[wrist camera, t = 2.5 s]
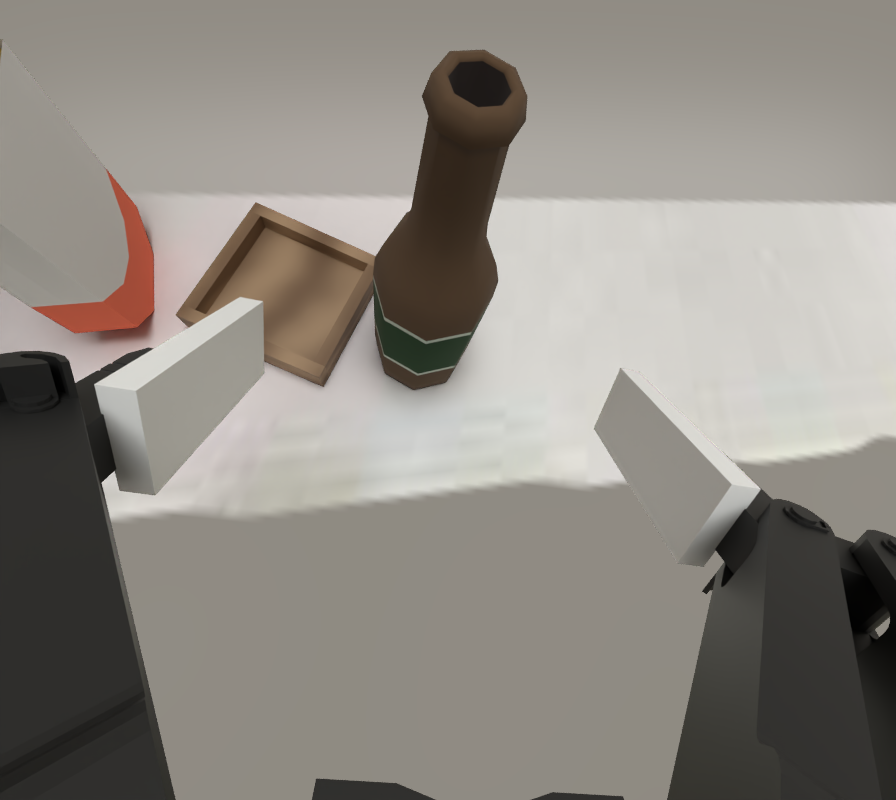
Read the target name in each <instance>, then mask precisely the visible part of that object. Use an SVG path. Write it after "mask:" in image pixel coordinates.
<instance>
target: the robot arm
mask: <svg viewBox="0 0 896 800" xmlns="http://www.w3.org/2000/svg"><path fill="white" fill-rule="evenodd" d="M263 374H264V322H263V301H259V300H253V299H248V298H243V297H239V298H237V299H236V300H234V301H232V302H231V303H229V304H227V305H226V306H224V307H222V308H221V309H219V310H217V311H216V312H214V313H212V314H211V315H209V316H207V317H206V318H204V319H202V320H201V321H199V322H197V323H196V324H194V325H192V326H191V327H189V328H187V329H186V330H184V331H182V332H181V333H179V334H177V335H176V336H174V337H172V338H171V339H169V340H167V341H166V342H164V343H162V344H161V345H159V346H157V347H156V348H154V349H153V348H146V349H142V350H139V351H135V352H131V353H128V354H126V355H124V356H123V357H121V358H119V359H117V360H115V361H114V362H113V364H108V365H107V366H105V367H103V368H101V370H100V371H96V372H94V373H92V374H91V375H89V376H87V377H85V378H84V379H82V380H80V381H78V382H77V383H75V381H74V378H73V374H72V370H71V366H70V363H69V361H68V359H67V358H66V357H65V356H62V355H59V354H56V353H51V352H43V351H20V352H12V353H5V354H0V800H176V799H175V795H174V791H173V787H172V783H171V778H170V774H169V770H168V766H167V762H166V757H165V753H164V748H163V744H162V740H161V736H160V732H159V727H158V723H157V718H156V714H155V710H154V705H153V701H152V697H151V693H150V688H149V684H148V680H147V675H146V671H145V667H144V662H143V658H142V654H141V650H140V646H139V641H138V637H137V632H136V628H135V624H134V620H133V615H132V611H131V607H130V602H129V598H128V594H127V590H126V586H125V581H124V577H123V572H122V568H121V564H120V559H119V555H118V551H117V547H116V542H115V538H114V534H113V529H112V525H111V521H110V516H109V512H108V508H107V504H106V499H105V495H104V491H103V487H102V484H101V482H103V481H104V480H105V479H106V478H107V477H108V476H109V475H110V474H111V473H113V472H114V471H115V474H116V478H117V482H118V486H119V490H120V491H126V492H133V493H141V494H149V495H156V494H157V493H158V492H159V491H160V489H161V488H162V487H163V486H164V485H165V484H166V483H167V482H168V481H169V479H170V478H171V477H172V476H173V475H174V474H175V473H176V472H177V470H178V469H179V468H180V467H181V466H182V465H183V464H184V463H185V461H186V460H187V459H188V458H189V457H190V456H191V455H192V454H193V453H194V451H195V450H196V449H197V448H198V447H199V446H200V445H201V444H202V442H203V441H204V440H205V439H206V438H207V437H208V436H209V435H210V433H211V432H212V431H213V430H214V429H215V428H216V427H217V426H218V425H219V423H220V422H221V421H222V420H223V419H224V418H225V417H226V416H227V414H228V413H229V412H230V411H231V410H232V409H233V408H234V407H235V405H236V404H237V403H238V402H239V401H240V400H241V399H242V398H243V397H244V395H245V394H246V393H247V392H248V391H249V390H250V389H251V388H252V386H253V385H254V384H255V383H256V382H257V381H258V380H259V379H260V377H261V376H262V375H263ZM594 429H595V431H596V433H597V434H598V436H599V437H600V439H601V441H602V442H603V444H604V446H605V447H606V449H607V450H608V452H609V454H610V455H611V457H612V458H613V460H614V462H615V463H616V465H617V467H618V468H619V470H620V471H621V473H622V475H623V476H624V478H625V479H626V481H627V483H628V484H629V486H630V488H631V489H632V491H633V492H634V494H635V496H636V497H637V499H638V500H639V502H640V504H641V505H642V507H643V508H644V510H645V512H646V513H647V515H648V516H649V518H650V520H651V521H652V523H653V525H654V526H655V528H656V529H657V531H658V533H659V534H660V536H661V538H662V539H663V541H664V542H665V544H666V546H667V547H668V549H669V550H670V552H671V554H672V555H673V557H674V559H675V560H676V562H677V563H678V564H686V565H694V566H702V567H704V565H705V564H706V562H707V561H708V560H709V559H710V557H711V556H712V555H713V553H714V552H715V551H717V552H718V554H719V555H720V556H721V557H722V559H723V560H724V563H723V565H722V566H721V567H720V569H719V570H718V571H717V573H716V574H715V575H714V576H713V578H712V579H711V580H710V582H709V583H708V584H707V586H706V587H705V588H704V590H703V591H702V592H704V593H705V594H707V593H708V592H709V591H710V590H713V591H712V596H711V600H710V605H709V610H708V614H707V619H706V623H705V628H704V632H703V637H702V642H701V646H700V651H699V656H698V660H697V665H696V669H695V674H694V678H693V683H692V688H691V692H690V698H689V702H688V706H687V711H686V715H685V720H684V725H683V729H682V734H681V738H680V743H679V748H678V752H677V757H676V761H675V766H674V771H673V775H672V780H671V784H670V789H669V794H668V798H667V800H896V538H895V537H893V536H891V535H889V534H886V533H883V532H879V531H876V530H867V531H866V532H865V533H864V534H863V535H862V536H861V537H860V538H859V539H858V540H857V541H856V542H855V543H853V542H850V541H847V540H844V539H841V538H838V537H835V535H834V533H833V531H832V529H831V527H830V526H829V525H828V524H827V523H826V522H824V521H823V520H822V519H821V518H819V517H818V516H817V515H815V514H814V513H812V512H811V511H809V510H808V509H806V508H804V507H802V506H800V505H797V504H795V503H792V502H790V501H786V500H781V499H774V500H773V499H771V498H770V497H769V496H768V495H767V494H766V493H765V492H764V491H763V490H762V489H761V488H760V487H759V486H758V485H757V484H756V483H755V482H754V481H753V480H752V479H751V478H750V477H749V476H748V475H747V474H745V473H744V472H743V471H742V470H741V469H740V468H739V467H738V466H737V465H736V464H735V463H734V462H733V461H732V460H731V459H730V458H729V457H728V456H727V455H726V454H725V453H724V452H723V451H721V450H720V449H719V448H718V447H717V446H716V445H715V444H714V443H713V442H712V441H711V440H710V439H709V438H708V437H707V436H706V435H705V434H704V433H702V432H701V431H700V430H699V429H698V428H697V427H696V426H695V425H694V424H693V423H692V422H691V421H690V420H689V419H688V418H687V417H686V416H685V415H684V414H683V413H682V412H681V411H680V410H679V409H678V408H677V407H676V406H675V405H673V404H672V403H671V402H670V401H669V400H668V399H667V398H666V397H665V396H664V395H663V394H662V393H661V392H660V391H659V390H658V389H657V388H656V387H655V386H654V385H653V384H652V383H651V382H650V381H649V380H648V379H647V378H645V377H644V376H643V375H642V374H641V373H640V372H639V371H634V370H628V369H623V368H620V371H619V373H618V375H617V377H616V380H615V382H614V384H613V386H612V389H611V391H610V393H609V395H608V398H607V400H606V402H605V404H604V407H603V409H602V411H601V413H600V416H599V418H598V420H597V422H596V425H595V427H594ZM889 617H890V624H889V627H888V629H887V630H886V632H885V633H884V634H883V635H881V636H880V637H879V636H878V634H877V632H876V631H875V629H876V628H877V627H878V626H879V625H881V624H882V623H883V622H884V621H885V620H886V619H888V618H889ZM312 800H435V799H432V798H430V797H428V796H425V795H423V794H421V793H418V792H416V791H413V790H411V789H409V788H406V787H404V786H401V785H399V784H397V783H381V782H365V781H363V782H362V781H348V780H330V779H316V783H315V788H314V792H313V797H312ZM532 800H624V798H623V797H622V796H605V795H588V794H571V793H554V792H553V793H550V794H547V795H544V796H541V797H538V798H535V799H532Z"/></svg>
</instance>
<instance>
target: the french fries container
mask: <svg viewBox="0 0 896 800" xmlns="http://www.w3.org/2000/svg"><path fill="white" fill-rule="evenodd" d="M0 287H2V288H3V289H4V290H6V291H7V292H9V293H10V294H12V295H13V296H15V297H16V298H18V299H19V300H21V301H22V302H24V303H25V304H27V305H28V306H30V307H31V308H33V309H35V310H36V311H38V312H40V313H41V314H43V315H45V316H46V317H48V318H50V319H52V320H53V321H55V322H57V323H58V324H60V325H62V326H63V327H65V328H67V329H69V330H70V331H72V332H74V333H82V332H93V331H104V330H115V329H126V328H137V327H138V326H139V325H140V324H141V323H142V322H143V321H144V320H145V319H146V318H147V317H148V316H149V315H150V314H151V313H152V312H153V311H154V259H153V251H152V249H151V246H150V243H149V240H148V237H147V234H146V232H145V229H144V226H143V223H142V220H141V217H140V214H139V212H138V209H137V207H136V205H135V204H134V203H133V202H132V200H131V199H130V198H129V197H128V195H127V194H126V193H125V192H124V190H123V189H122V188H121V187H120V185H119V184H118V183H117V182H116V180H115V179H114V178H113V177H112V175H111V174H110V173H109V172H108V171H107V169H106V168H105V167H104V165H103V164H102V163H101V162H100V160H99V159H98V158H97V157H96V155H95V154H94V153H93V152H92V150H91V149H90V148H89V147H88V146H87V144H86V143H85V142H84V140H83V139H82V138H81V137H80V136H79V134H78V133H77V132H76V131H75V129H74V128H73V127H72V126H71V124H70V123H69V122H68V121H67V119H66V118H65V117H64V115H63V114H62V113H61V112H60V111H59V109H58V108H57V107H56V106H55V104H54V103H53V102H52V101H51V99H50V98H49V97H48V95H47V94H46V93H45V92H44V90H43V89H42V88H41V87H40V85H39V84H38V83H37V82H36V80H34V78H33V77H32V76H31V74H30V73H29V72H28V70H27V69H26V68H25V67H24V66H23V64H22V63H21V62H20V61H19V59H18V58H17V57H16V56H15V55H14V53H13V52H12V51H11V49H10V48H9V47H8V46H7V44H6V43H5V42H4V41H3V39H0Z"/></svg>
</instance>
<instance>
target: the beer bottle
mask: <svg viewBox="0 0 896 800" xmlns="http://www.w3.org/2000/svg"><path fill="white" fill-rule="evenodd" d="M422 98H423V101H424V104H425V107H426V110H427V112H428V116H429V117H428V122H427V127H426V133H425V138H424V144H423V149H422V154H421V159H420V165H419V170H418V176H417V181H416V187H415V192H414V197H413V203H412V208H411V210H410V211H409V212H407V213H406V214H405V216H404V217H403V219H402V220H401V221H400V223H399V224H398V225H397V227H396V228H395V229H394V231H393V232H392V233H391V235H390V236H389V237H388V239H387V240H386V241H385V243H384V244H383V246H382V247H381V249H380V251H379V252H378V254H377V255H376V257H375V260H374V270H373V289H374V316H375V336H376V341H377V346H378V349H379V353H380V357H381V361H382V365H383V368H384V372H385V373H386V374H387V375H389V376H391V377H393V378H394V379H396V380H398V381H399V382H401V383H403V384H405V385H406V386H408V387H410V388H412V389H413V390H415V389H419V388H423V387H428V386H432V385H436V384H441V383H445V382H446V381H447V380H448V378H449V377H450V375H451V373H452V372H453V370H454V368H455V367H456V365H457V363H458V362H459V360H460V358H461V356H462V355H463V353H464V351H465V350H466V348H467V346H468V344H469V342H470V340H471V338H472V336H473V334H474V332H475V330H476V328H477V326H478V324H479V322H480V321H481V319H482V317H483V315H484V313H485V311H486V309H487V307H488V305H489V303H490V301H491V299H492V297H493V294H494V292H495V289H496V286H497V283H498V275H497V266H496V262H495V259H494V257H493V254H492V251H491V248H490V245H489V242H488V239H487V237H486V235H487V226H488V220H489V217H490V213H491V209H492V206H493V202H494V199H495V195H496V191H497V188H498V184H499V180H500V177H501V173H502V169H503V165H504V162H505V158H506V154H507V151H508V147H509V144H510V143H511V142H512V140H513V139H514V137H515V136H516V134H517V133H518V131H519V130H520V128H521V127H522V125H523V124H524V123H525V120H526V108H527V94H526V92H525V90H524V87H523V85H522V82H521V81H520V77H519V75H518V72H517V70H516V68H515V67H513V66H511V65H510V64H508V63H506V62H504V61H503V60H501V59H499V58H497V57H495V56H494V55H492V54H490V53H489V52H487V51H485V50H470V51H450V52H449V53H448V54H447V55H446V56H445V58H444V59H443V60H442V61H441V62H440V64H439V65H438V66H437V67H436V68H435V69H434V70H433V72H432V73H431V75H430V78H429V80H428V83H427V85H426V87H425V90H424V93H423V95H422Z"/></svg>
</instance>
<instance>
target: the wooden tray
mask: <svg viewBox="0 0 896 800" xmlns="http://www.w3.org/2000/svg"><path fill="white" fill-rule="evenodd" d="M375 257H376V256H374V255H372V254H369V253H367V252H365V251H363V250H361V249H358V248H356V247H354V246H352V245H349V244H347V243H345V242H343V241H341V240H338V239H336V238H334V237H332V236H329V235H327V234H325V233H323V232H321V231H318V230H316V229H314V228H312V227H309V226H307V225H305V224H303V223H301V222H298V221H296V220H294V219H292V218H289V217H287V216H285V215H283V214H281V213H278V212H276V211H274V210H272V209H269V208H267V207H265V206H263V205H261V204H258V203H255V204H254V205H253V207H252V208H251V210H250V211H249V212H248V214H247V215H246V217H245V218H244V220H243V221H242V222H241V224H240V225H239V227H238V228H237V229H236V231H235V232H234V234H233V235H232V236H231V238H230V239H229V241H228V242H227V243H226V245H225V246H224V248H223V249H222V250H221V252H220V253H219V255H218V256H217V257H216V259H215V260H214V262H213V263H212V264H211V266H210V267H209V269H208V270H207V271H206V273H205V274H204V276H203V277H202V278H201V280H200V281H199V283H198V284H197V285H196V287H195V288H194V290H193V291H192V292H191V294H190V295H189V297H188V298H187V300H186V301H185V302H184V304H183V305H182V307H181V308H180V309H179V311H178V312H177V314H176V316H177V317H178V318H179V319H180V320H181V321H182V322H184V323H185V324H186V325H187V326H188V327H191V326H192V325H194V324H196V323H197V322H199V321H201V320H202V319H204V318H206V317H207V316H209V315H211V314H212V313H214V312H216V311H217V310H219V309H221V308H222V307H224V306H226V305H227V304H229V303H231V302H232V301H234V300H236V299H237V298H239V297H243V298H248V299H253V300H259V301H263V322H264V361H265V362H268V363H270V364H272V365H274V366H277V367H279V368H281V369H284V370H286V371H288V372H290V373H293V374H295V375H297V376H300V377H302V378H304V379H307V380H309V381H311V382H313V383H316V384H318V385H320V386H323V387H324V385H325V383H326V381H327V379H328V377H329V376H330V374H331V372H332V370H333V368H334V366H335V364H336V363H337V361H338V359H339V357H340V355H341V353H342V351H343V350H344V348H345V346H346V344H347V342H348V340H349V338H350V337H351V335H352V333H353V331H354V329H355V327H356V325H357V324H358V322H359V320H360V318H361V316H362V314H363V312H364V311H365V309H366V307H367V305H368V303H369V301H370V299H371V298H372V296H373V294H374V289H373V270H374V260H375Z"/></svg>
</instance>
